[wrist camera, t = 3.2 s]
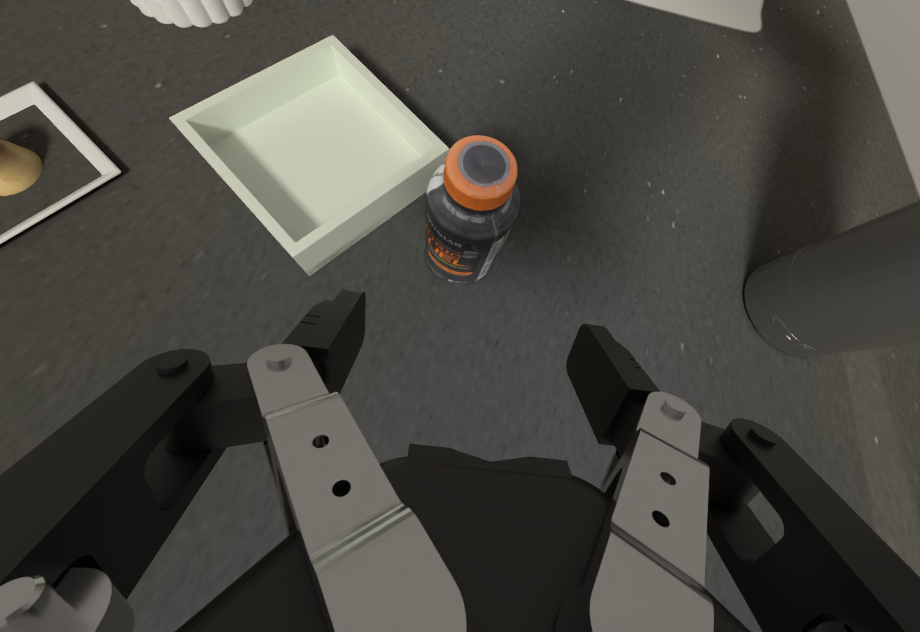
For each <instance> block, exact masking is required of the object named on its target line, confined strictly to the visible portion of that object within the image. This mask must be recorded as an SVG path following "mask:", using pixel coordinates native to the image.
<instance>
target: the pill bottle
mask: <svg viewBox="0 0 920 632" xmlns="http://www.w3.org/2000/svg"><path fill="white" fill-rule="evenodd" d="M517 173H518V172H517V163H516V160H515V157H514V155H513V154H512V153H511V151H510V150H509V149H508V148H507V147H506V146H505V145H504V144H503V143H501V142H500V141H498V140H496V139H494V138H491V137H487V136H480V135H475V136H468V137H465V138H463V139H461V140H459V141H458V142H456V143H455V144H454V145H453V146H452V147H451V148H450V150H449V151H448V153H447V156H446V160H445V163H443V164H442V165H440V166H439V168H438V169H437V170H436V171H435V172H434V174H433V175H432V177H431V179H430V181H429V184H428V188H427V196H426V222H425V224H426V225H425V260H426V263H427V265H428V267H429V269H430V271H431V272H432V273H433V274H434V275H435V276H436V277H437V278H438V279H440V280H441V281H443V282H445V283H447V284H450V285H455V286H467V285H471V284H474V283H476V282H478V281H480V280H481V279H483V278H484V277H485V276H486V275H487V273H488V272H489V270H490V269H491V267H492V265H493V263H494V261H495V259H496V257H497V255H498V253H499V251H500V250H501V248H502V246H503V244H504V242H505V240H506V238H507V236H508V234H509V232H510V230H511V228H512V226H513V225H514V223H515V221H516V219H517V216H518V213H519V209H520V193H519V190H518V187H517V184H516V179H517Z"/></svg>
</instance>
